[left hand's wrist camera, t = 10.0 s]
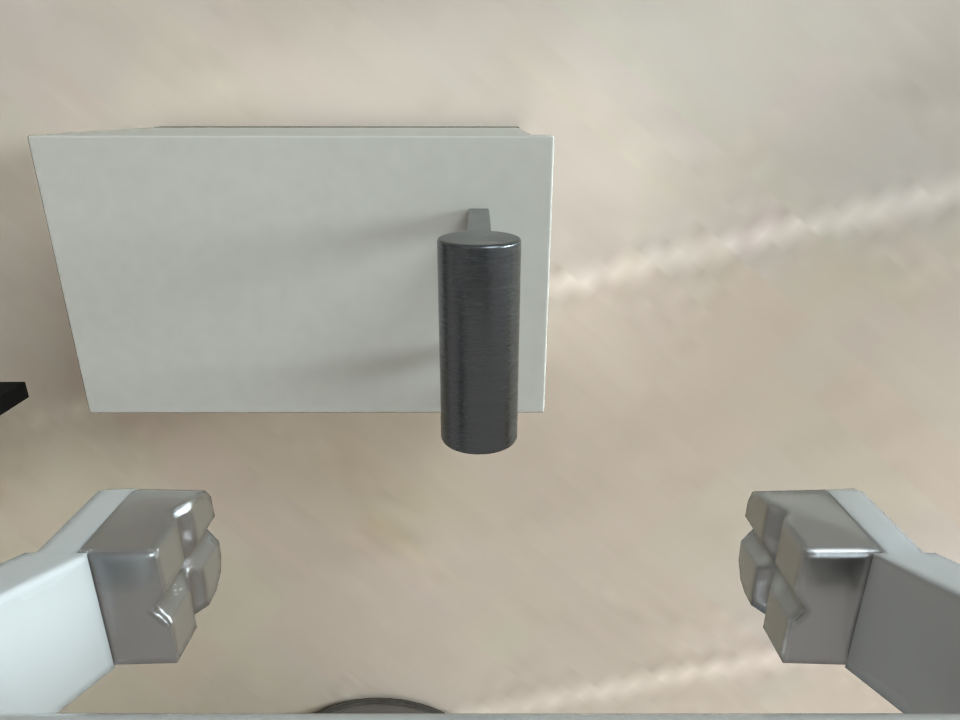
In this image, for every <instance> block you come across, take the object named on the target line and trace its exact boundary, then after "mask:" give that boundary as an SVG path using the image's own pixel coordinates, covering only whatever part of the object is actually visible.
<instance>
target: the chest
mask: <svg viewBox="0 0 960 720" xmlns="http://www.w3.org/2000/svg"><path fill="white" fill-rule="evenodd" d="M47 135H531V134H529V133H527V132H525V131H523V130H522V129H520V128H519V127H153V128H138V129H123V130H108V131H93V132H77V133H62V134H47Z"/></svg>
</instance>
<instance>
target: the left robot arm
mask: <svg viewBox="0 0 960 720" xmlns="http://www.w3.org/2000/svg"><path fill="white" fill-rule="evenodd" d="M214 516H215V515H214V510H213V505H212V500H211V496H210V495H209V494H208V493H207V492H206V491H204V490H153V489H140V490H137V489H106V490H101V491H98V492H97V493H96V494H95V495H94V496H93V497H92V498H91V499H90V500H89V501H88V502H87V503H86V504H85V505H84V506H83V507H82V508H81V509H80V510H79V511H78V512H77V513H76V514H75V515H74V516H73V517H72V518H71V519H70V520H69V521H68V522H67V523H66V524H65V525H64V526H63V527H62V528H61V529H60V530H59V531H58V532H57V533H56V534H55V535H54V536H53V537H52V538H51V539H50V540H49V541H48V542H47V543H46V544H45V545H44V546H43V547H42V548H41V549H40V550H39V551H38V552H37V553H24V554H22V555H19V556H17V557H15V558H13V559H11V560H8V561H6V562H4V563H2V564H0V720H960V564H958V563H956V562H954V561H952V560H949V559H947V558H945V557H943V556H941V555H938V554H936V553H923V552H922V551H921V550H920V549H919V548H918V547H917V546H916V545H915V544H914V543H913V542H912V541H911V540H910V539H909V538H908V537H907V536H906V535H905V534H904V533H903V532H902V531H901V530H900V529H899V528H898V527H897V526H896V525H895V524H894V523H893V522H892V521H891V520H890V519H889V518H888V517H887V516H886V515H885V514H884V513H883V512H882V511H881V510H880V509H879V508H878V507H877V506H876V505H875V504H874V503H873V502H872V501H871V500H870V499H869V498H868V497H867V496H866V495H865V494H864V493H863V492H861V491H859V490H856V489H828V490H794V491H758V492H752V494H751V496H750V498H749V500H748V503H747V509H746V514H745V516H746V518H747V520H748V521H749V523H750V524H751V526H752V527H753V529H752V530H751V532H750V533H749V534H748V535H747V536H746V537H745V538H744V539H743V540H742V541H741V546H740V554H739V569H740V579H741V582H742V586H743V589H744V592H745V594H746V596H747V598H748V600H749V602H750V604H751V605H752V606H754V607H755V608H757V609H758V610H760V611H761V612H763V613H764V614H765V620H764V626H763V628H764V630H765V631H766V633H767V635H768V637H769V639H770V640H771V642H772V644H773V646H774V648H775V649H776V651H777V653H778V655H779V657H780V658H781V660H782V662H783V663H808V664H844V665H846V667H845V668H847V669H848V670H849V671H851V672H852V673H853V674H854V675H856V676H857V677H858V678H859V679H861V680H862V681H863V682H865V683H866V684H867V685H868V686H870V687H871V688H872V689H873V690H875V691H876V692H877V693H878V694H880V695H881V696H882V697H884V698H885V699H886V700H887V701H889V702H890V703H891V704H892V705H894V706H895V707H896V708H897V709H899V710H900V711H901V712H903V713H800V714H105V713H104V714H103V713H58V712H59V711H60V710H61V709H63V708H64V707H65V706H67V705H68V704H69V703H70V702H72V701H73V700H74V699H75V698H77V697H78V696H79V695H81V694H82V693H83V692H84V691H86V690H87V689H88V688H89V687H91V686H92V685H93V684H94V683H96V682H97V681H98V680H100V679H101V678H102V677H103V676H105V675H106V674H107V673H108V672H110V671H111V670H112V669H114V665H116V664H151V663H177V662H178V660H179V658H180V657H181V655H182V653H183V651H184V649H185V648H186V646H187V644H188V642H189V640H190V639H191V637H192V635H193V633H194V631H195V629H196V628H197V626H196V620H195V614H196V613H197V612H199V611H200V610H202V609H203V608H205V607H206V606H208V605H209V604H210V602H211V600H212V598H213V596H214V594H215V592H216V590H217V585H218V581H219V577H220V572H221V552H220V545H219V541H218V540H217V539H216V538H215V537H214V536H213V535H212V534H211V533H210V532H209V530H208V529H207V527H208V526H209V524H210V523H211V521H212V520H213V518H214Z"/></svg>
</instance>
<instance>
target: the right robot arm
mask: <svg viewBox="0 0 960 720" xmlns="http://www.w3.org/2000/svg"><path fill="white" fill-rule="evenodd" d="M28 397H29V396H28V392H27V388H26V384H25V382H0V415H1V414H3V413H5V412H6V411H8V410H9V409H11V408H12V407H14V406H15V405H17V404H19V403H20V402H22V401H23V400H25V399H26V398H28ZM315 714H446V713H444V712H442V711H439V710H437V709H435V708H432V707H429V706H427V705H424V704H420V703H416V702H412V701H407V700H401V699H392V698H367V699H358V700H352V701H347V702H343V703H340V704H336V705H333V706H330V707H328V708H325V709H323V710H321V711H319V712H317V713H315Z"/></svg>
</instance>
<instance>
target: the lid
mask: <svg viewBox="0 0 960 720" xmlns="http://www.w3.org/2000/svg"><path fill="white" fill-rule="evenodd" d="M28 141H29V146H30V150H31V154H32V159H33V163H34V168H35V172H36V176H37V181H38V185H39V190H40V194H41V198H42V203H43V207H44V212H45V216H46V221H47V225H48V229H49V234H50V238H51V243H52V247H53V251H54V256H55V260H56V265H57V269H58V274H59V278H60V282H61V287H62V291H63V296H64V300H65V304H66V309H67V313H68V318H69V322H70V326H71V331H72V335H73V340H74V344H75V349H76V353H77V357H78V362H79V366H80V371H81V375H82V379H83V384H84V388H85V393H86V397H87V401H88V406H89V410H90V412H91V413H374V412H441V437H442V440H443V442H444V443H445V444H446V445H447V446H448V447H450V448H451V449H454V450H456V451H459V452H463V453H468V454H490V453H495V452H499V451H502V450H505V449H507V448H509V447H510V446H511V445H513V443H514V442H515V440H516V438H517V413H518V412H544V398H545V371H546V345H547V318H548V292H549V265H550V239H551V212H552V186H553V159H554V136H551V135H32V136H28Z"/></svg>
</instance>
